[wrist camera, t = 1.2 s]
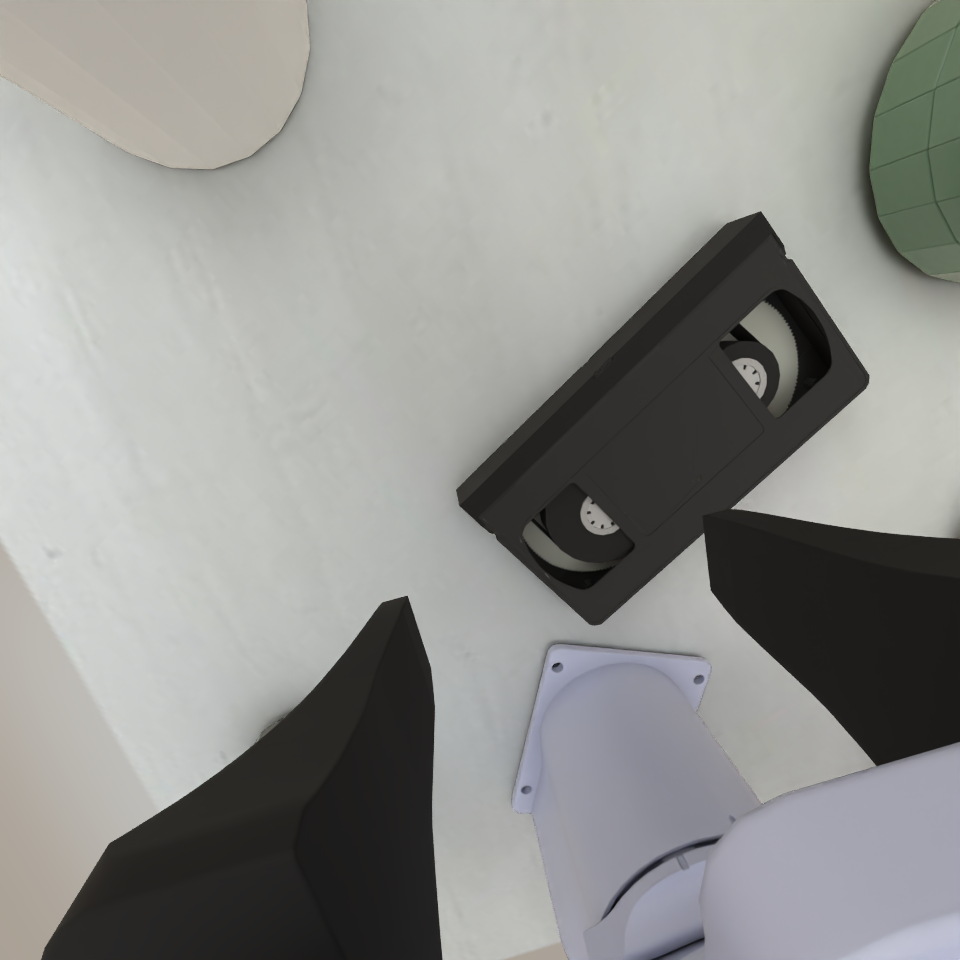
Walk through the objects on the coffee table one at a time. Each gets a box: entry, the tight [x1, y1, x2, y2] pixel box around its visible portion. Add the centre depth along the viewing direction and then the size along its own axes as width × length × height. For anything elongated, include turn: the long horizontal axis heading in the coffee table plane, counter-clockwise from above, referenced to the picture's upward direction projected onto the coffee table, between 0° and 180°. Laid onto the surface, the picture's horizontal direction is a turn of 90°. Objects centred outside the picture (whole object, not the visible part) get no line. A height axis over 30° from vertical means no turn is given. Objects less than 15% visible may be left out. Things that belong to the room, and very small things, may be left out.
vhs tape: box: [456, 211, 869, 626], centre depth 20 cm, size 14×8×2 cm, turn 135°
